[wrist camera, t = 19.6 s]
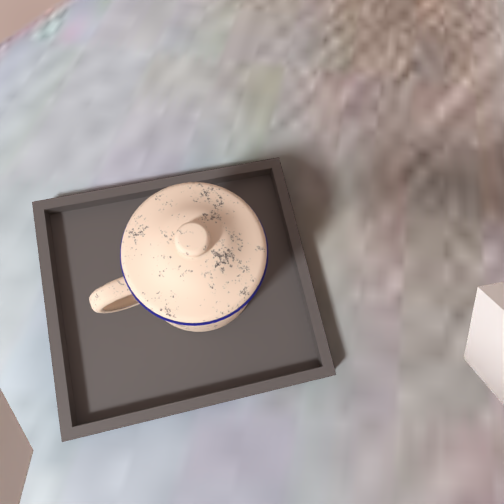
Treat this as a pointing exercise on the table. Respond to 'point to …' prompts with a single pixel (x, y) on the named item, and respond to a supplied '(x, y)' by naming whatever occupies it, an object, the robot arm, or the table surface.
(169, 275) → the teacup with lid
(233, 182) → the tea tray
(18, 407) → the table surface
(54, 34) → the table surface
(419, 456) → the table surface
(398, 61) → the table surface
